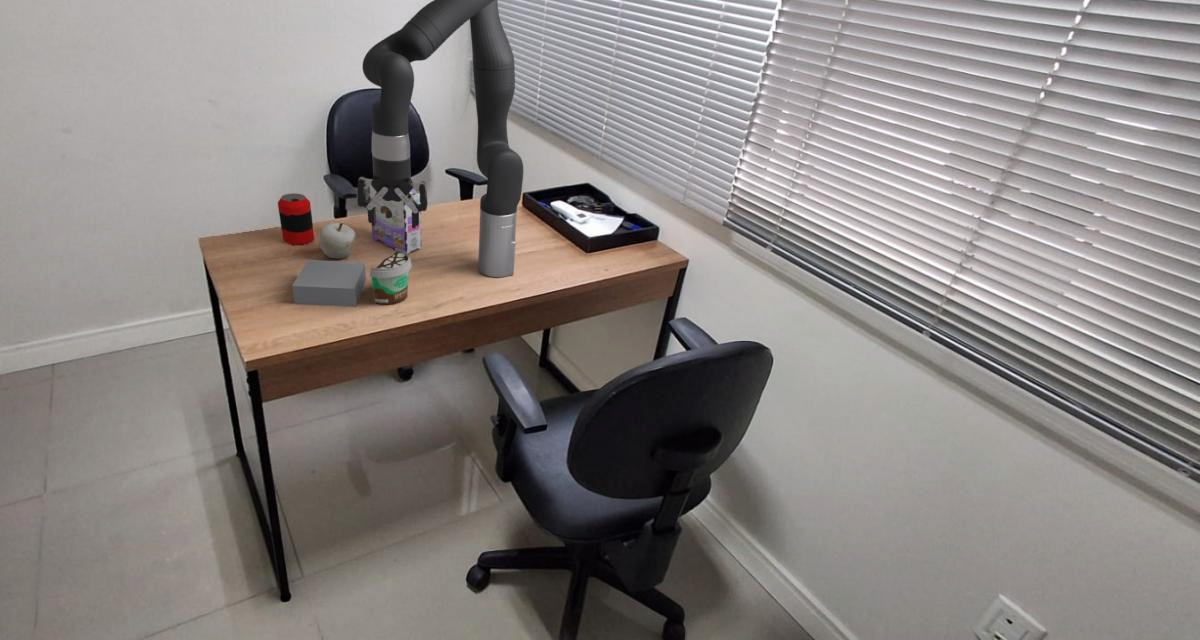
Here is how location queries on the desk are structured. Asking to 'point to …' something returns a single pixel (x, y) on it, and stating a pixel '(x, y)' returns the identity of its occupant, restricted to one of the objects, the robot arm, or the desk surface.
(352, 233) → the decorative object
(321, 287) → the grey block
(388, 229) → the candy box
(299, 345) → the desk surface
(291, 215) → the soda can
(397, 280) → the food container
